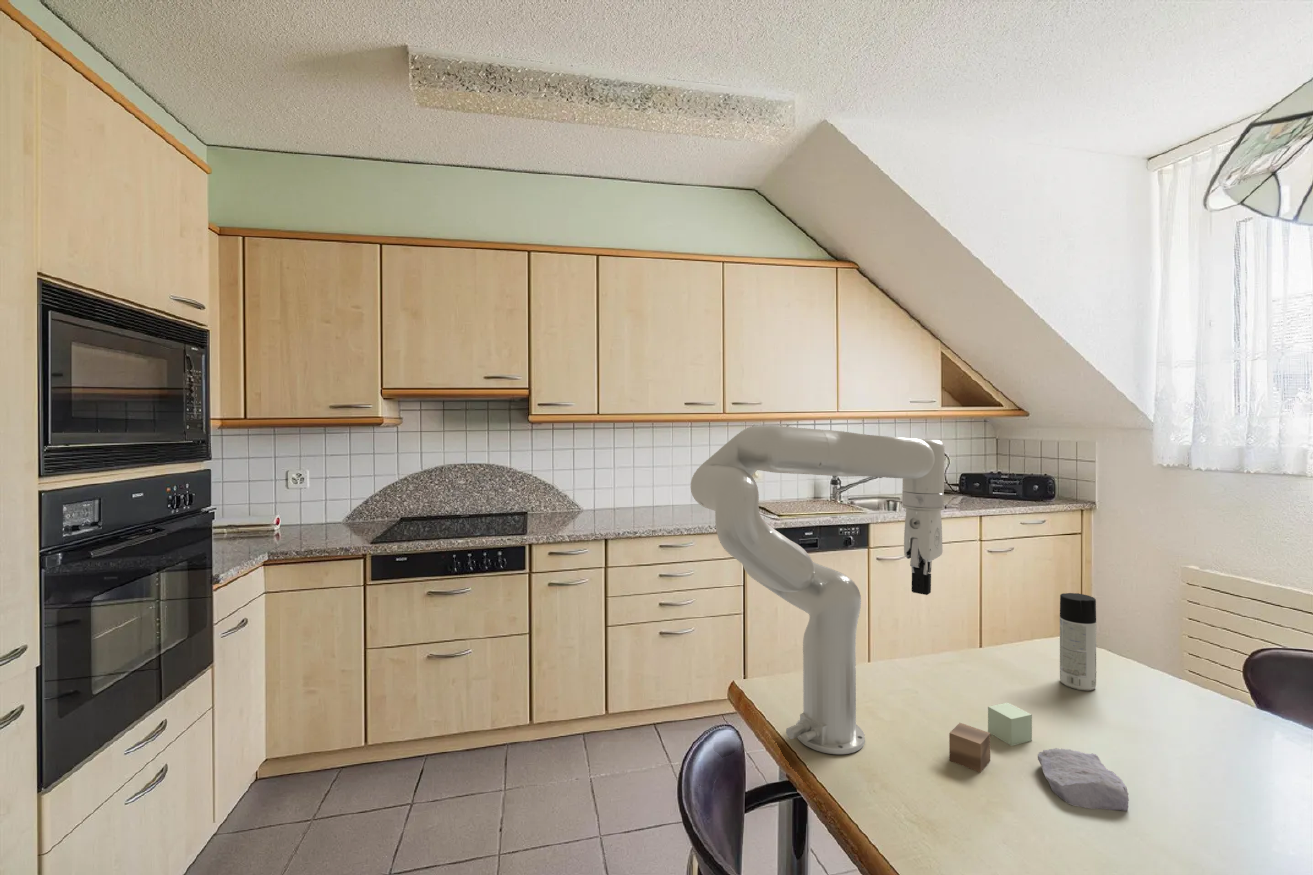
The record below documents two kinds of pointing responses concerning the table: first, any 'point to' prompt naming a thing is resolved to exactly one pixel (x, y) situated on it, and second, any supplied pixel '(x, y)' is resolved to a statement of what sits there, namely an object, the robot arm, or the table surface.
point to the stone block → (1083, 780)
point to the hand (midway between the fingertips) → (921, 592)
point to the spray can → (1078, 641)
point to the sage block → (1010, 723)
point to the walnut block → (969, 747)
